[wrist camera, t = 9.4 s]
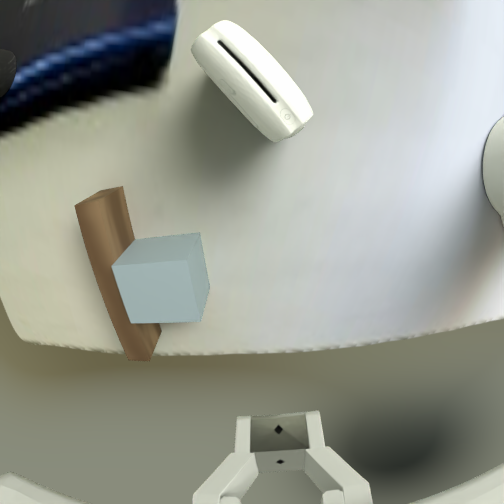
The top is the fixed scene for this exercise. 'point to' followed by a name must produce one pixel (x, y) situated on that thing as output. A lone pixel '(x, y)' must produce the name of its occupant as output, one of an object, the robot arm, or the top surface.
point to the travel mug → (6, 70)
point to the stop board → (104, 256)
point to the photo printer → (252, 80)
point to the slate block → (163, 279)
